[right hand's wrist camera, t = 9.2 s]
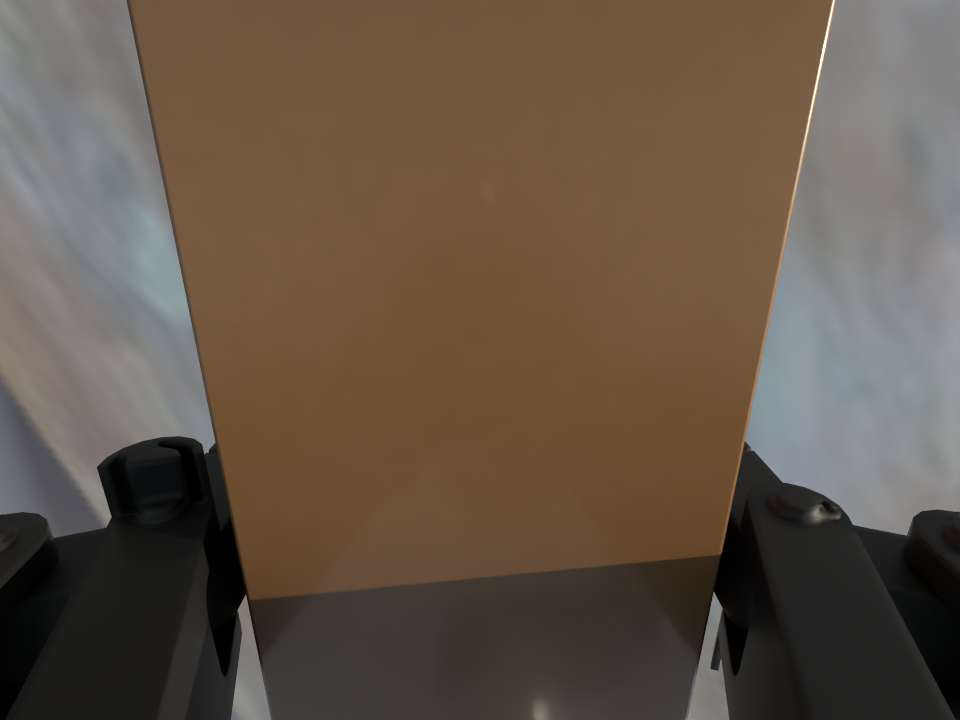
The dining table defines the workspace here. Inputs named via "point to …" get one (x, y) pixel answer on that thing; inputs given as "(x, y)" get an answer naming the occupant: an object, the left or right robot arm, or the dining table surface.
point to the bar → (480, 328)
